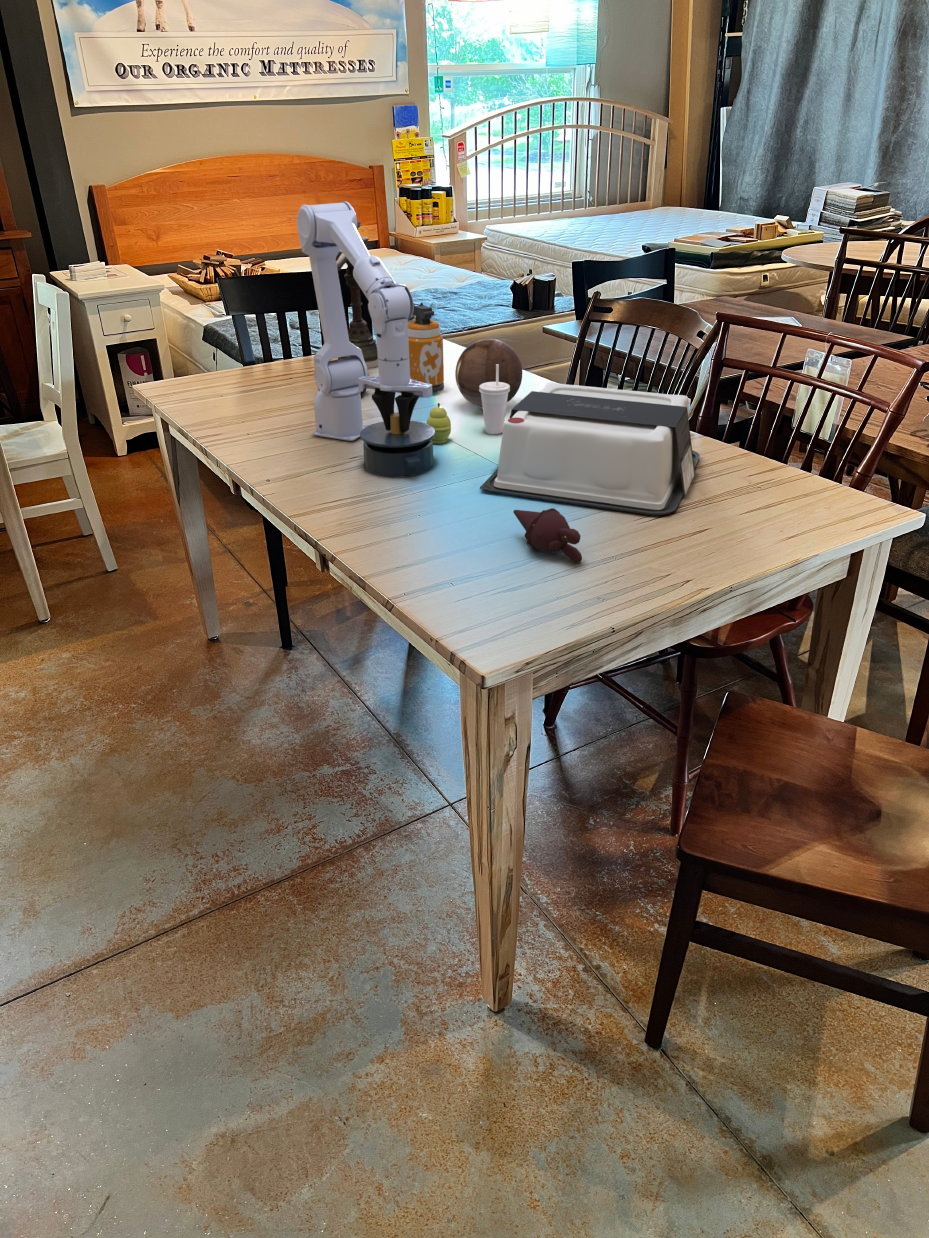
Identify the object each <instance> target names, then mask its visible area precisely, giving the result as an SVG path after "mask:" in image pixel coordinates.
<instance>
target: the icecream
mask: <svg viewBox="0 0 929 1238" xmlns="http://www.w3.org/2000/svg"><path fill="white" fill-rule="evenodd" d="M512 512H513V515H514V516H515V517H516V519H517V520H518V522H519V523H520V525H521V526H522V527H523V530H525V533H524V538H525V540H526V545H528V546H529V547H530V548H531V549H532V550H534V551H536V550H538V551H540V552H542V553H557V552H559V551H561V553H562V554H563V555H564V556H566V558H568V560H570V561H571V562H573V563H574V564H579V563H581V562H582V560H583V556H582V553H581V552H580V551H579V549H578V548H577V547H575V546H576V545H578V544H579V543H580V540H581V534H580V533H579V531H578V530H577V529H576V528H575V529H574V528H571V527H570V525H569V523H568V521H567V519H566V517H565V516H564V515H563V514H561V513H560V511H559V510H557V509H556V508H553V507H552V508H548V509H543V510H541V511H532V510H523V509H514V510H513V511H512ZM573 545H575V546H573Z"/></svg>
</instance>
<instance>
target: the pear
mask: <svg viewBox="0 0 929 1238" xmlns="http://www.w3.org/2000/svg"><path fill="white" fill-rule="evenodd" d="M425 424H428V425H430V426H431V427H433V428H434V430H435V436H434V437H433V438H432V440H433V444H439V445H440V444H445V443H447V442H448V438H449V437H450V435H451V431H452V423H451V419H450V417H449V416H448V413H447V411H446V409H445V408H444V407H443V406H441V403H440V402H438V403H437V406H434V407H432V409H431V410H430V412H429V416H428V417H427V419H426V422H425Z"/></svg>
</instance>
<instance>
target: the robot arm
mask: <svg viewBox="0 0 929 1238" xmlns="http://www.w3.org/2000/svg"><path fill="white" fill-rule="evenodd" d="M357 217H358V216H357V213H356V211H355V208H354V207H353V206H352V204H350V202H348V201H341V202H335V203H334V202H333V203H322V204H321V203H320V204H309V205H308V204H302V205H301V206H300V208H299V210H298V212H297V217H296V227H297V233H298V238H299V244H300V249H301V252H302V253H303V254H305V255H307V256H308V258H309V264H310V269H311V270H310V271H311V274H312V279H313V286H314V292H315V297H316V303H317V304H316V305H317V309H318V315H319V320H320V326H321V332H322V336H323V345H322V346H321V347H320V348H319V350H318V351H317V352H316V353H315V354H314V356H313V366H314V368H313V369H314V370H313V376H314V382H315V385H316V387H317V390H318V389H319V390H320V391H319V390H318V391H317V392H316V394H315V397H314V400H313V409H314V410H313V411H314V420H315V430H316V432H314V436H318V437H323V438H329V439H335V440H340V441H341V440H342V441H349V442H354V441H355V440H357V439H359V438H360V432H361V430H362V429H364V428H365V427H366V426H364V425H363V424H364V423H363V410H362V409H363V408H362V397H361V396H362V395H360V392H361V391H363V389H365V388H367V389H366V390H374V392H373V393H372V394H371V400H372V401H373V403H374V404H375V406H376V407H377V409H378V411H379V413H380V416H381V418H382V422H384V425H385V428H386V430H388V431H389V430H391V429H390V414H392V413H395V404H396V408H397V413H399V423H400V431H401V433H405V432H406V431H408V430H409V425H410V421H412V420H411V419H412V415H413V412H414V409H415V407H416V404H417V402H418V400H419V398H420V397H422V398H425V399H428V398H430V397H432V396H433V394H432V385H431V384H425V383H422V382H418V381H415V380H411V379H410V363H409V339H408V320H407V319H410V318H411V317H412V315H413V311H414V305H415V303H414V298H413V295H412V292H411V290H410V288H409V287H408V285H406V284H401V283H400V282H399V281H397V282H396V281H395V280H394V278H393V277H392V275H391V273H390V272H389V270H388V269H387V267H386V266H385V265H384V263H383V261H382V260H381V259H380V258H379V257H378V256H375V255H371V254H370V252H369V250H368V248H367V246H366V244H365V245H364V243H363V241H362V239H361V238H362V237H361V235H360V233H359V231H357V223H358V218H357ZM340 250H341V251H342V252H343V254H344V255H345V256H346V257H347V259H348V260H349V261H350V262H351V264H352V265H353V266H354V270H353V277H354V279H355V280H356V282H357V283H358V285H359V287H360V288H361V289H360V291H362V293H363V294H364V296H365V298H366V300H367V301H368V303H367V309H368V313H369V316H370V319H371V322H372V329H373V332H374V333H375V336H376V345H377V353H378V366H377V368H378V376H369V370H368V369H369V368H367V366H366V363H365V361H364V358H363V354H362V350H361V349H360V348H358V347H357V346H355V345H354V344H352V343H351V342H350V341H349V336H348V325H347V320H346V319H347V318H346V313H345V307H344V301H343V295H342V289H341V283H340V282H341V281H340V278H339V277H340V275H339V271H338V270H337V264H336V256H337V254H338V252H339V251H340ZM344 356H348V357H349V358H344V359H338V357H344ZM396 393H397V394H399V395H397V396H396Z"/></svg>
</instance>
